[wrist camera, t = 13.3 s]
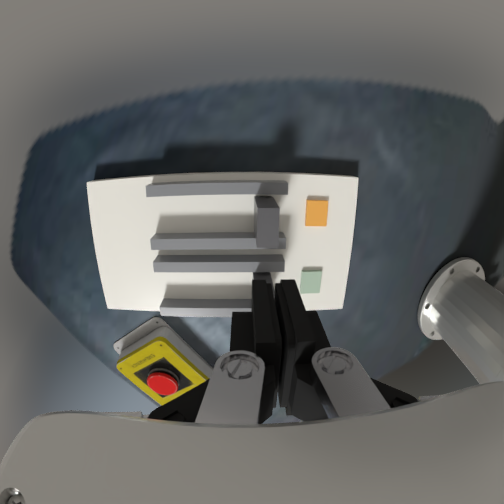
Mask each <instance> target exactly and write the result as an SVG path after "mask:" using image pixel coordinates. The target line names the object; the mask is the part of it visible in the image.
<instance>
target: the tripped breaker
mask: <svg viewBox="0 0 504 504" xmlns="http://www.w3.org/2000/svg"><path fill="white" fill-rule="evenodd" d="M279 217H280V208H279V206H278V204H277V203H276V201H275V200H274V198H273V197H272V196H254V233H255V239H256V245H257V248H278V244H279Z"/></svg>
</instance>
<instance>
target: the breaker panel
mask: <svg viewBox="0 0 504 504" xmlns="http://www.w3.org/2000/svg"><path fill="white" fill-rule="evenodd" d="M87 191H88V201H89V210H90V218H91V226H92V232H93V239H94V245H95V251H96V257H97V262H98V267H99V272H100V277H101V282H102V286H103V291H104V295H105V299H106V303H107V307H108V309H124V310H144V311H160V314H161V316H183V317H232V312H251V306H252V280H253V272H270V273H271V278H272V282H273V286H274V291H275V283H280V280H281V279H295V281H296V284H297V287H298V290H299V293H300V295H301V298H302V301H303V304H304V307H305V309H306V310H327V309H342V307H343V302H344V296H345V290H346V284H347V277H348V271H349V264H350V257H351V249H352V241H353V232H354V223H355V214H356V203H357V191H358V177H355V176H348V175H333V174H315V173H290V172H203V173H178V174H160V175H145V176H133V177H121V178H111V179H101V180H93V181H90V182H87ZM254 196H272V197H273V198H274V200H275V201H276V203H277V204H278V206H279V208H280V217H279V244H278V248H257V245H256V239H255V233H254Z"/></svg>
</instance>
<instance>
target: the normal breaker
mask: <svg viewBox="0 0 504 504" xmlns="http://www.w3.org/2000/svg"><path fill="white" fill-rule="evenodd" d="M253 280H266V283H271V284H272V289H273V295H274V294H275V291H274V286H273V282H272V278H271V273H270V272H253Z"/></svg>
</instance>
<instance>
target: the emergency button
mask: <svg viewBox="0 0 504 504" xmlns="http://www.w3.org/2000/svg"><path fill="white" fill-rule="evenodd" d="M114 349H115V350H116V352H117V353H118V354H119V355H120V356H119V360H118V361H117V369H118V370H119V371H120V372H121V373H122V374H124V375H125V376H126V377H127V378H128V379H129V380H130V381H132V382H133V383H134V384H135V385H136V386H138V387H139V388H140V389H141V390H142V391H144V392H145V393H146V394H147V395H149V396H150V397H151V398H152V399H154V400H155V401H156V402H158V403H159V404H160V405H161V406H162V405H164V404H166V403H168V402H169V401H171V400H173V399H175V398H177V397H178V396H180V395H182V394H184V393H186V392H187V391H189V390H191V389H193V388H194V387H196V386H198V385H199V384H201V383H203V382H205V381H206V380H208V379H210V377H211V374H212V372H213V368H212V367H211V366H210V365H209V364H208V363H207V362H206V361H205V360H204V359H202V358H201V357H200V356H199V355H198V354H197V353H196V352H195V351H194V350H193V349H192V348H191V347H190V346H189V345H188V344H187V343H186V342H185V341H184V340H183V339H182V338H181V337H180V336H179V335H178V334H177V333H176V332H175V331H174V330H173V329H172V328H171V327H170V326H169V325H168V324H167V323H166V322H165V321H164V320H163V319H161V318H159V317H153V318H151V319H150V320H148V321H147V322H145V323H144V324H142V325H141V326H139V327H138V328H136V329H135V330H133V331H132V332H130V333H129V334H127V335H126V336H124V337H123V338H121V339H120V340H118V341H117V342H115V344H114Z"/></svg>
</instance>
